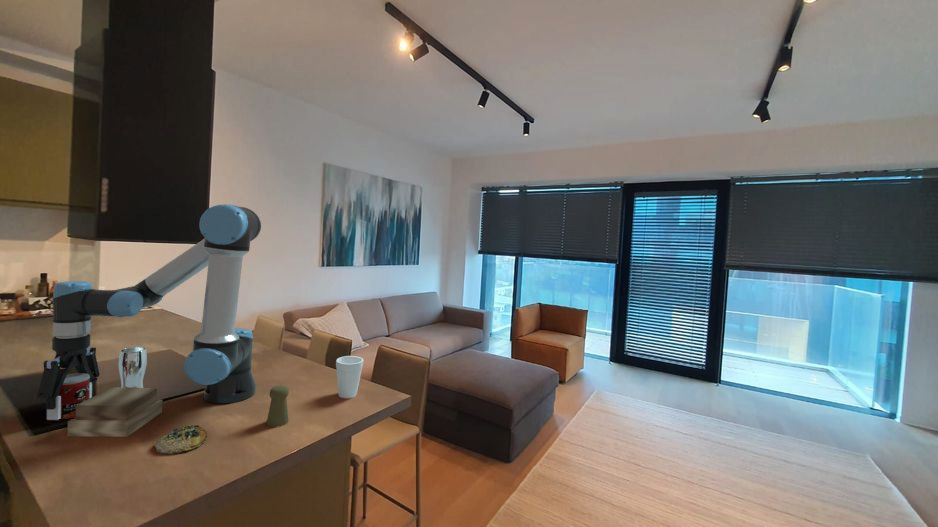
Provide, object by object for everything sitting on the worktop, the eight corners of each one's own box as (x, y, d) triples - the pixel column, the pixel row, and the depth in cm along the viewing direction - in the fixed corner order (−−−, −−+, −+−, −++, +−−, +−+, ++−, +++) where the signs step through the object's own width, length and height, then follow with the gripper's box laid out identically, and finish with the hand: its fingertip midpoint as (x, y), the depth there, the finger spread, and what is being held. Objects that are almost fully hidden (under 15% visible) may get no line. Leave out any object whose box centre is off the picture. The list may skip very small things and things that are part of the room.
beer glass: (117, 399, 120) (118, 353, 119) (118, 392, 125) (119, 347, 124) (145, 395, 124) (147, 351, 123) (145, 387, 129) (147, 345, 129)
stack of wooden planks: (162, 412, 114) (163, 386, 114) (127, 436, 100) (127, 407, 100) (110, 411, 112) (111, 385, 112) (67, 436, 98) (68, 406, 98)
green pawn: (293, 420, 116) (295, 385, 115) (277, 428, 110) (279, 392, 110) (278, 415, 118) (279, 381, 117) (261, 423, 112) (263, 388, 112)
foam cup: (364, 391, 142) (367, 357, 141) (355, 401, 132) (357, 365, 132) (340, 388, 142) (343, 354, 142) (329, 398, 133) (331, 362, 133)
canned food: (64, 423, 104) (64, 384, 104) (42, 418, 106) (43, 380, 105) (96, 411, 112) (97, 375, 111) (75, 406, 113) (76, 371, 113)
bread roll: (200, 428, 107) (201, 412, 106) (213, 449, 100) (213, 432, 100) (150, 443, 99) (150, 426, 98) (160, 468, 92) (160, 450, 91)
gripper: (90, 325, 118) (88, 394, 119) (16, 345, 96) (15, 430, 97) (116, 326, 119) (114, 395, 120) (49, 346, 97) (48, 430, 98)
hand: (70, 410), depth 109 cm, fingers open, 9 cm apart
